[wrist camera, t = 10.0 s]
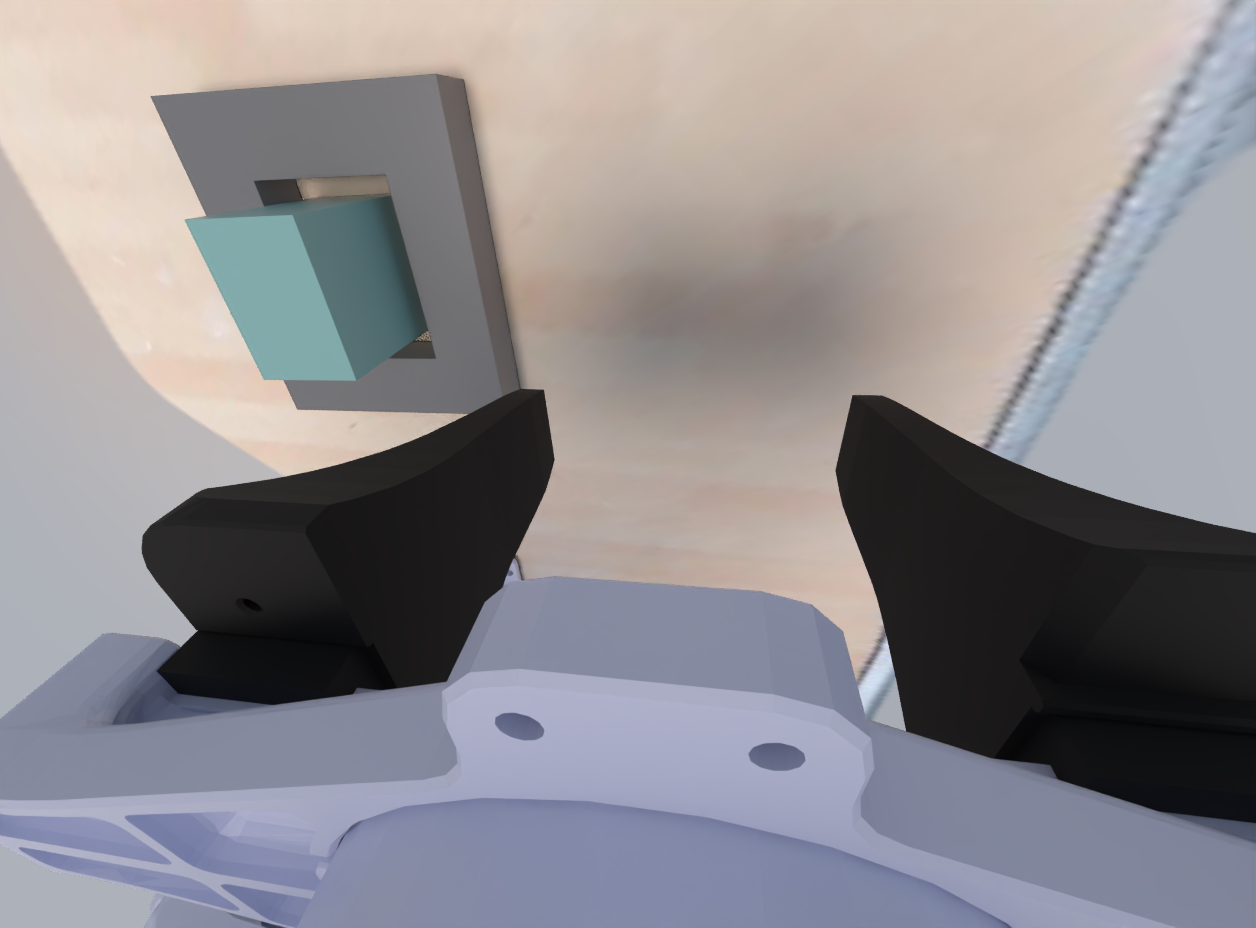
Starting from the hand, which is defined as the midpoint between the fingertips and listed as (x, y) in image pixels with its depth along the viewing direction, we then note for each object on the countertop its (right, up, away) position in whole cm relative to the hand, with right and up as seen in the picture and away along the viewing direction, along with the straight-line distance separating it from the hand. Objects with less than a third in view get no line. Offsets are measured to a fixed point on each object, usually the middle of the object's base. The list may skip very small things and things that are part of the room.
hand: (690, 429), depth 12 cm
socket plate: (-12, +7, +8) cm, 16 cm away
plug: (-12, +7, +8) cm, 16 cm away
